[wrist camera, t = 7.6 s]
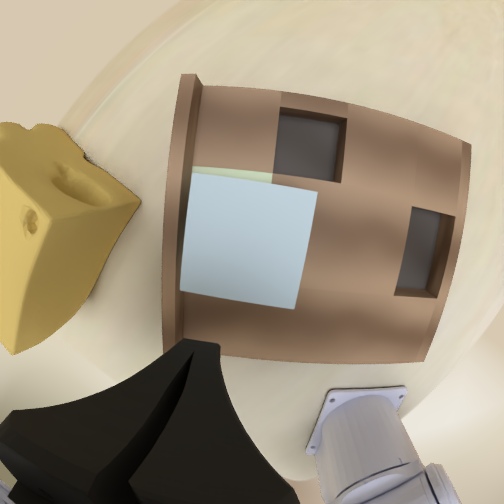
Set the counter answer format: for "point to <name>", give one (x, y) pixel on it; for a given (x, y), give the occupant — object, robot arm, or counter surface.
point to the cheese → (51, 230)
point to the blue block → (246, 240)
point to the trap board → (323, 224)
